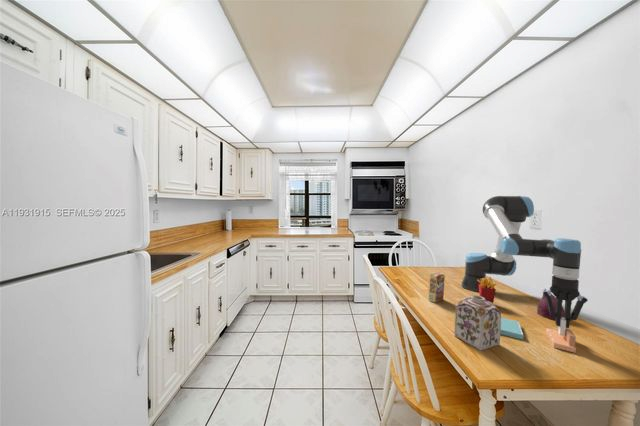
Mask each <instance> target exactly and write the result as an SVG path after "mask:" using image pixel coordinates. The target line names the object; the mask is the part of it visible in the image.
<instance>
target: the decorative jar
mask: <svg viewBox="0 0 640 426" xmlns="http://www.w3.org/2000/svg"><path fill="white" fill-rule="evenodd" d="M501 318H502V312H501V310H500V309H498V307H497V306H496V304H494V302H493V303H491V302H489V301H486V300H485V298H483V297H481V296H479V295H471V296H466V297H462V298H460V300H459V301H458V302H457V303H456V304H455V315H454V332H453V333H454V337H456V338H458V339H459V340H460V341H463V342H465V343H466V344H468V345H470V346H472V347H474V348H475V349H477V350H479V351H481V352H482V351H485V350H487V349H490V348H493V347H495V346H500V342H501V334H500V331H501Z"/></svg>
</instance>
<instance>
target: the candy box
mask: <svg viewBox="0 0 640 426" xmlns="http://www.w3.org/2000/svg"><path fill="white" fill-rule="evenodd" d="M429 276H430V278H429V289H428V301H430V302H433V303H437V302H440V301H443V300H444V293H445V278H446V274H445V273H442V272H436V273H432V274H430V275H429Z"/></svg>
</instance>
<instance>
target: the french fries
mask: <svg viewBox="0 0 640 426" xmlns="http://www.w3.org/2000/svg"><path fill="white" fill-rule="evenodd" d="M480 280H481V281H480ZM480 280H478V279H477V281H478V282H479V283H480V284H479V292H478V293H479V294H478V296H481V297H483V298H485V300H486V301H489V302H491V303H493V304H494V301H495V296H496V288H495V286H496V285H497V283H496V282H494V281H493V279H492V278H491V276H489V277H488V278H487V277H485V278H482V279H480ZM484 282H485V284H484Z"/></svg>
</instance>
